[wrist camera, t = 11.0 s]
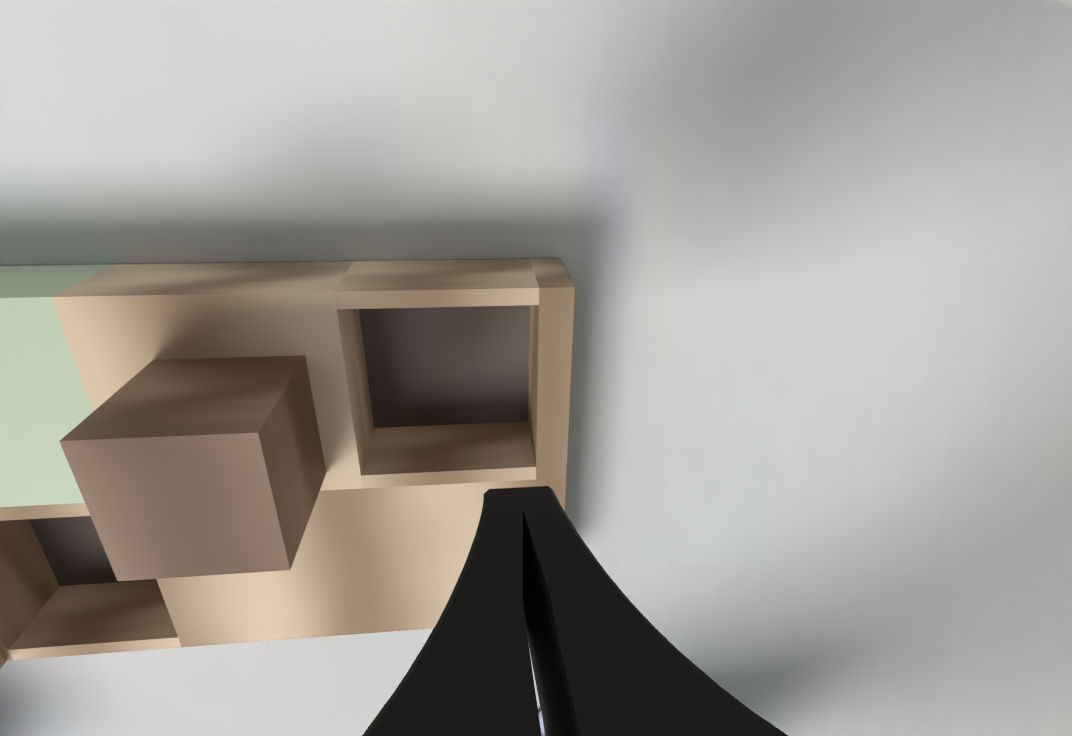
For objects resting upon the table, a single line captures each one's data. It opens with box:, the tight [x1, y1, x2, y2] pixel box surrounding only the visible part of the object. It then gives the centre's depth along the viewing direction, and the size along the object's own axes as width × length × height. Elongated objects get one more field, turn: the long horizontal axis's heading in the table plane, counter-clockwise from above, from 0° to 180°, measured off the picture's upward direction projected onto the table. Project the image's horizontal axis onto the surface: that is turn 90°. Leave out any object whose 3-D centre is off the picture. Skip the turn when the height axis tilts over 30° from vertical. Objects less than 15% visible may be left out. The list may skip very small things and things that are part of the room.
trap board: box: [0, 258, 575, 668], centre depth 19 cm, size 20×13×4 cm, turn 89°
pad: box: [0, 264, 115, 507], centre depth 17 cm, size 6×6×3 cm
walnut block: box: [59, 355, 326, 581], centre depth 15 cm, size 4×4×4 cm
